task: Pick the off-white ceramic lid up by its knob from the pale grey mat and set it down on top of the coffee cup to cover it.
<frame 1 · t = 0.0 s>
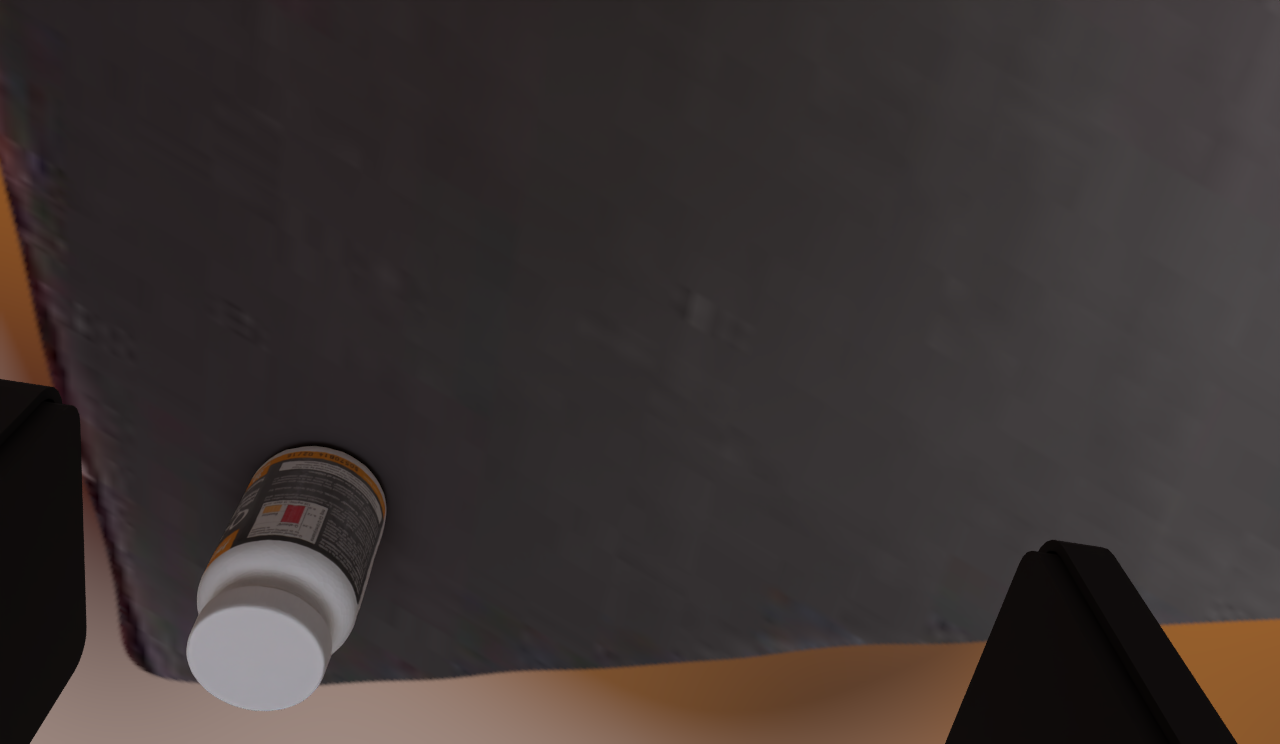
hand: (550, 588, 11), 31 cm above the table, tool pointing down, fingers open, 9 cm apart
pill bottle: (322, 496, 48), on the table
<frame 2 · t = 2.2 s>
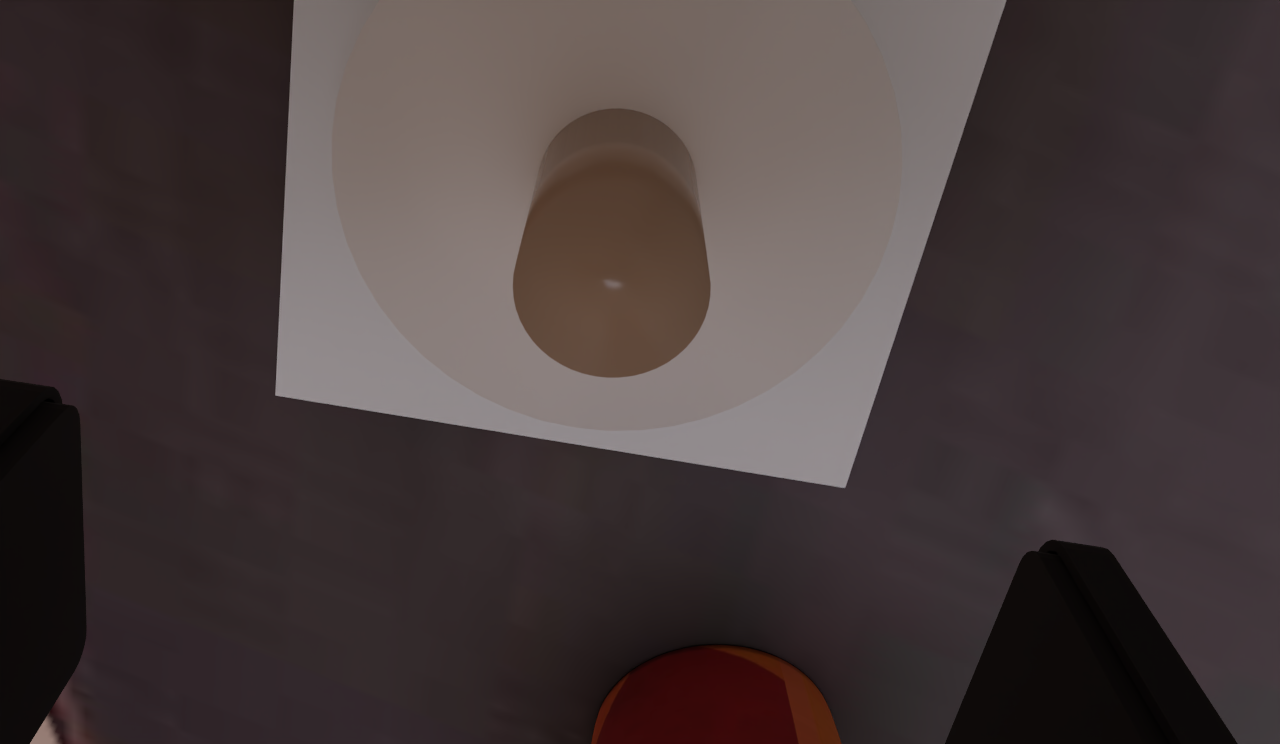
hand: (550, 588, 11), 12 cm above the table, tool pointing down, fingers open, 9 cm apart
lid: (618, 169, 21), resting on mat
mat: (618, 162, 21), on the table
coffee cup: (715, 730, 29), on the table
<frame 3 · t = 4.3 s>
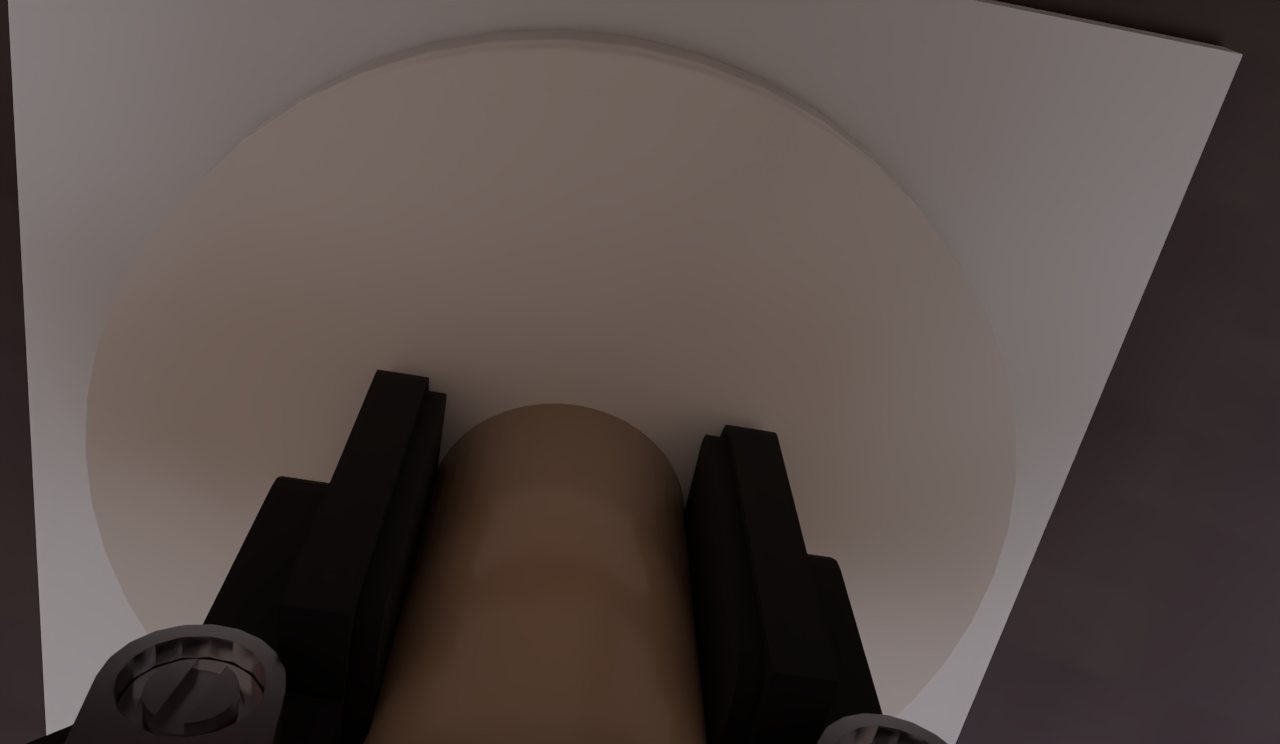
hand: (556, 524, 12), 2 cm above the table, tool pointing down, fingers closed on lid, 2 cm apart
lid: (560, 467, 13), resting on mat, touching gripper
mat: (558, 452, 14), on the table
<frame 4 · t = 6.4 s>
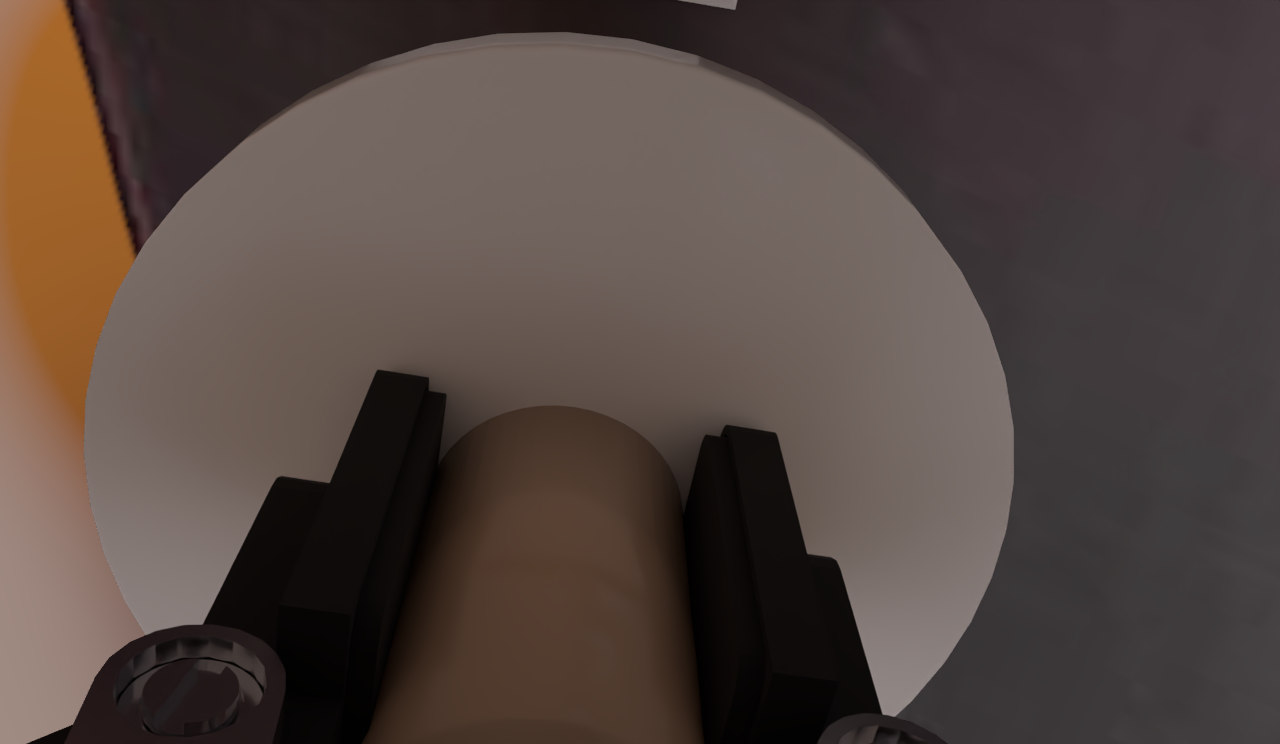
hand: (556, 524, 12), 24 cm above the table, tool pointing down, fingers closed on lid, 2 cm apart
lid: (559, 469, 13), point 23 cm above the table, touching gripper
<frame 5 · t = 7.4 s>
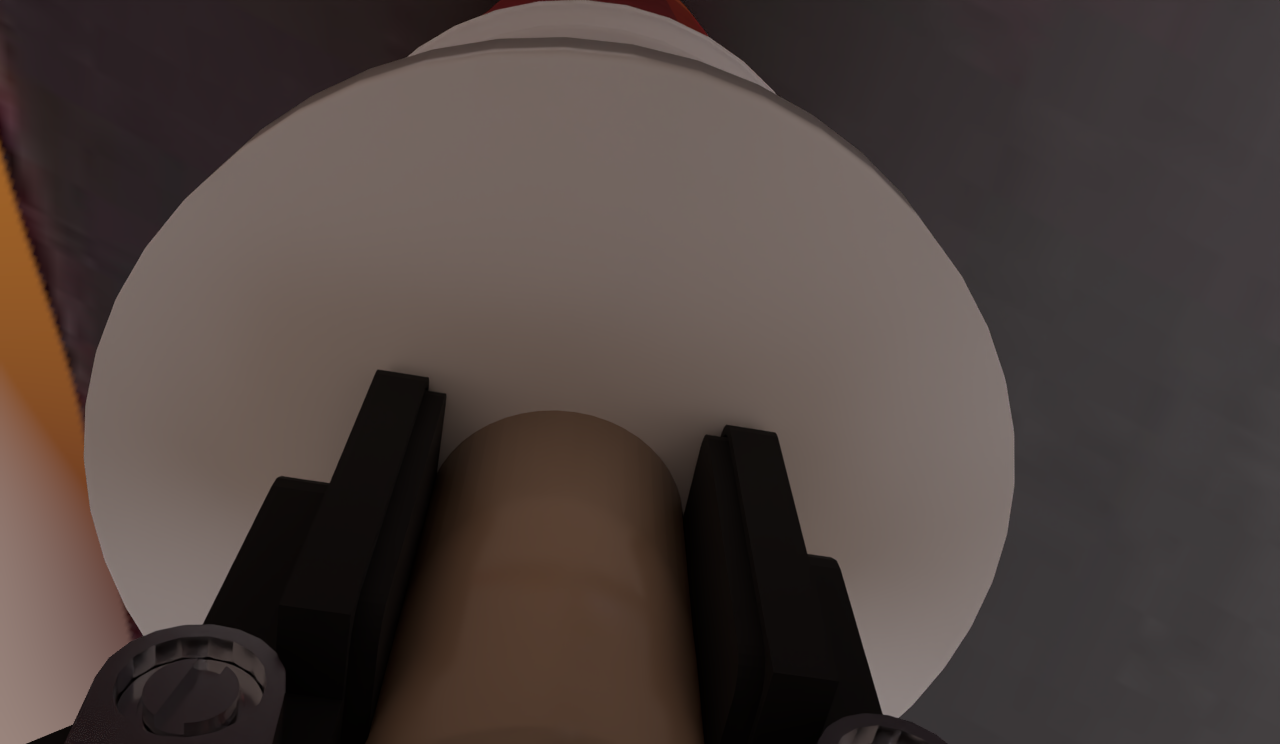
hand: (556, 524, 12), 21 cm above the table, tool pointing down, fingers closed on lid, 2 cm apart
lid: (559, 474, 13), point 19 cm above the table, touching gripper
coffee cup: (596, 74, 31), on the table
when the fingers open (18 cm above the table, at t = 8.5 s): lid drops 1 cm, resting on coffee cup.
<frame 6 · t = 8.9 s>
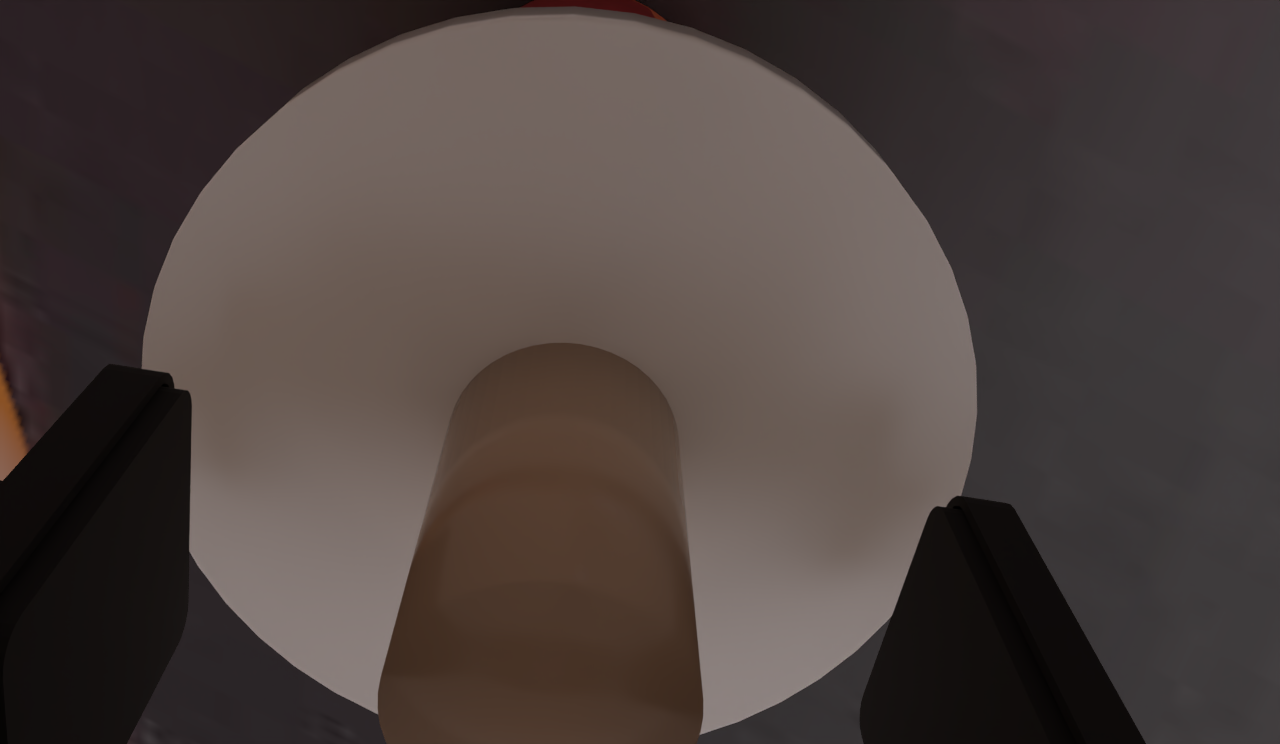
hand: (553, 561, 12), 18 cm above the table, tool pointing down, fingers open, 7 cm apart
lid: (566, 407, 15), point 15 cm above the table, touching coffee cup
coffee cup: (589, 113, 28), on the table, touching lid
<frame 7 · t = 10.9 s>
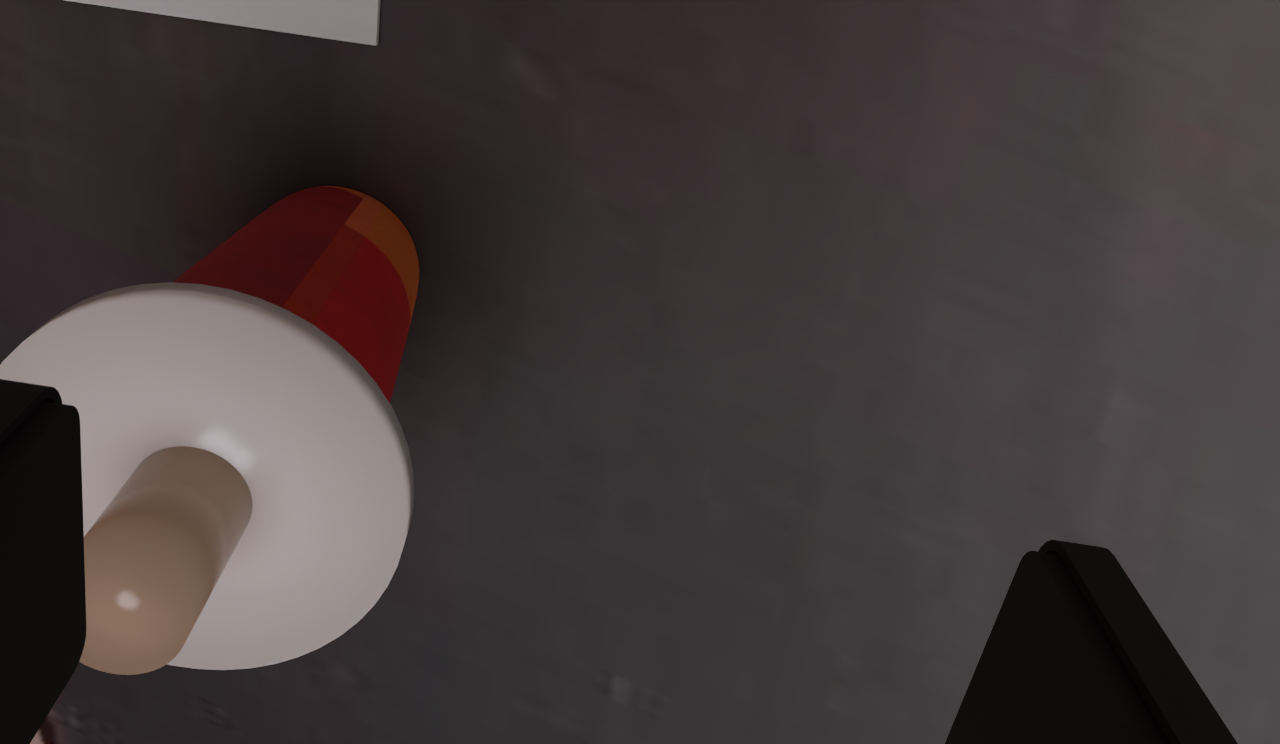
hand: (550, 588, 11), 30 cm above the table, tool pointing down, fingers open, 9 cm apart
lid: (205, 477, 28), point 15 cm above the table, touching coffee cup
coffee cup: (340, 264, 41), on the table, touching lid
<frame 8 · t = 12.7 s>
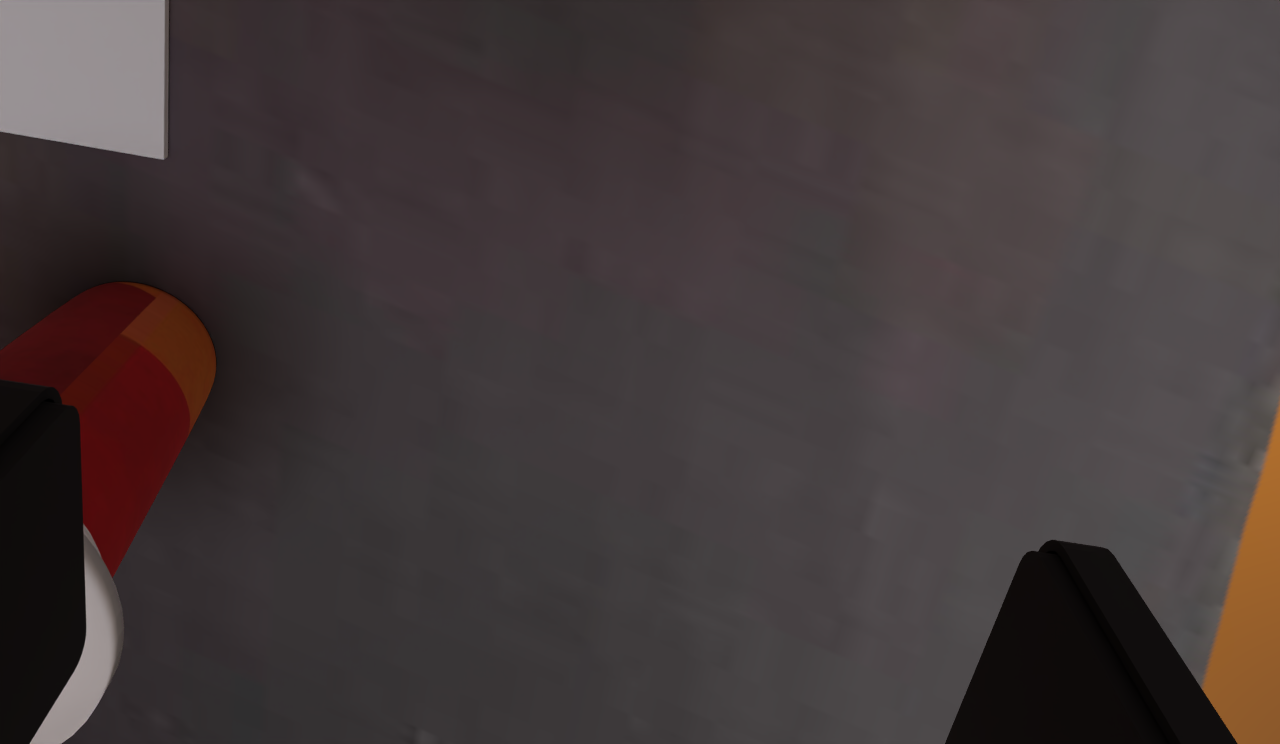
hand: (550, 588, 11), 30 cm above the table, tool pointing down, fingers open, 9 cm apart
coffee cup: (141, 351, 44), on the table, touching lid
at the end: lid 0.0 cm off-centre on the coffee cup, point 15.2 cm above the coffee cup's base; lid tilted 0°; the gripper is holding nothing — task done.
